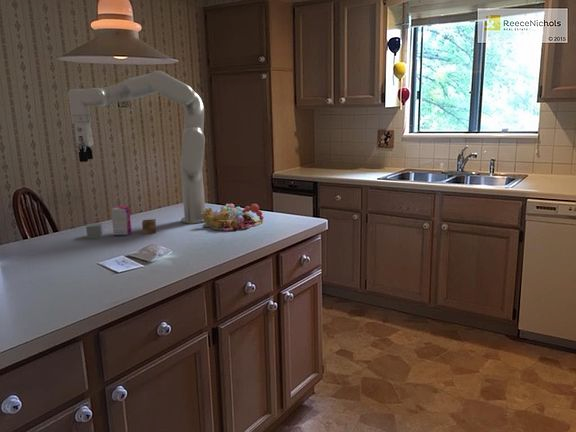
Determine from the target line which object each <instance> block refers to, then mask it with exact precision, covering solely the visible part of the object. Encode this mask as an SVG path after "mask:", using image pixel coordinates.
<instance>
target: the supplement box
mask: <svg viewBox="0 0 576 432" xmlns="http://www.w3.org/2000/svg"><path fill="white" fill-rule="evenodd" d="M111 219H112V220H111V221H112V223H111V224H112V231H113V233H112V234H113V237H125V236H126V237H127V236H128V235H130V234H131V233H132V222H131V214H130V206H129V205H127V206H119V205H118V206H115V207H113V208H111Z"/></svg>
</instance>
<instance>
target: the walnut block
mask: <svg viewBox="0 0 576 432" xmlns="http://www.w3.org/2000/svg"><path fill="white" fill-rule="evenodd" d="M156 220H157V219H155V218H154V219H153V218H152V219H143V220H142V223H141V225H142V234H143V235H149V234H150V235H152V234H156V233H157V222H156Z"/></svg>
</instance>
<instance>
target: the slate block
mask: <svg viewBox="0 0 576 432" xmlns="http://www.w3.org/2000/svg"><path fill="white" fill-rule="evenodd" d="M102 226H103V225H102V223H101V222H99V223H88V224H87V225H86V227H85V229H86V235H87V239H97V238H98V239H99V238H101V237H102V236H103V227H102Z"/></svg>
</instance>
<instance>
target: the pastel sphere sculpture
mask: <svg viewBox="0 0 576 432" xmlns="http://www.w3.org/2000/svg"><path fill="white" fill-rule="evenodd" d="M205 209H206V212H203V211H202V217H203V219H204V222H203V223H205V224H203V227H205V228H211V229H212V230H214V231H215V230H218V231H229V232H230V231H232V230H234V231H237V230H246V229H247V230H248V229H250V228H251V227H257V226H260V225H262V224H264V216H263V212H262V210H260V206H259V205H258V204H257V203H252V204H251V205H250V206H248V205H246V206H245V207H244V209H242V207H240V206H235V204H233V203H226V204H225V205H221V206H220V211H218V209H216V210H215V211H214V210H213V209H212V207H209V208H206V207H205ZM251 212H252V213H251ZM213 213H214V216H213ZM253 214H256V216H257V217H258V218H256V217H254V215H253Z"/></svg>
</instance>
